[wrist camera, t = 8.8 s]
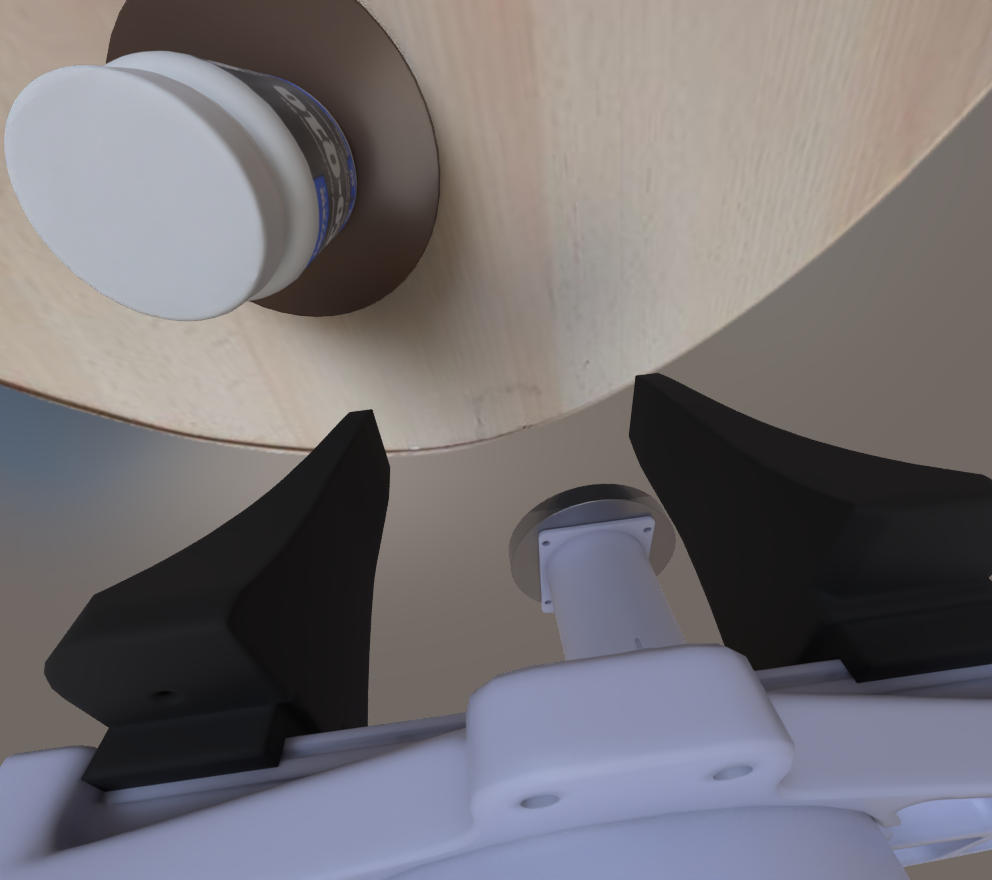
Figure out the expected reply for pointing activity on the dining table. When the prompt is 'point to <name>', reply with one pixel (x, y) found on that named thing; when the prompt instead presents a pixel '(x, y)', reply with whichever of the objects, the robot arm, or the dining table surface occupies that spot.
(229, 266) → the pill bottle
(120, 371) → the dining table surface
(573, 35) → the dining table surface
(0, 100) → the dining table surface
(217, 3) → the stand
